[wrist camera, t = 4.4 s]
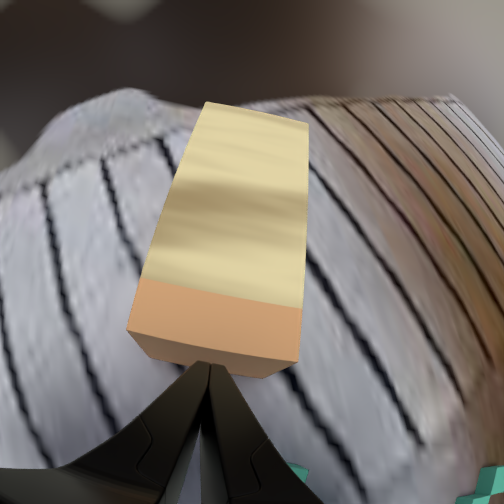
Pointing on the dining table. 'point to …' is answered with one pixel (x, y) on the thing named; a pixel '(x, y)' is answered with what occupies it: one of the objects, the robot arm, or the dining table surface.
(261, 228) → the maple block
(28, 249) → the dining table surface
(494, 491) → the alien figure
